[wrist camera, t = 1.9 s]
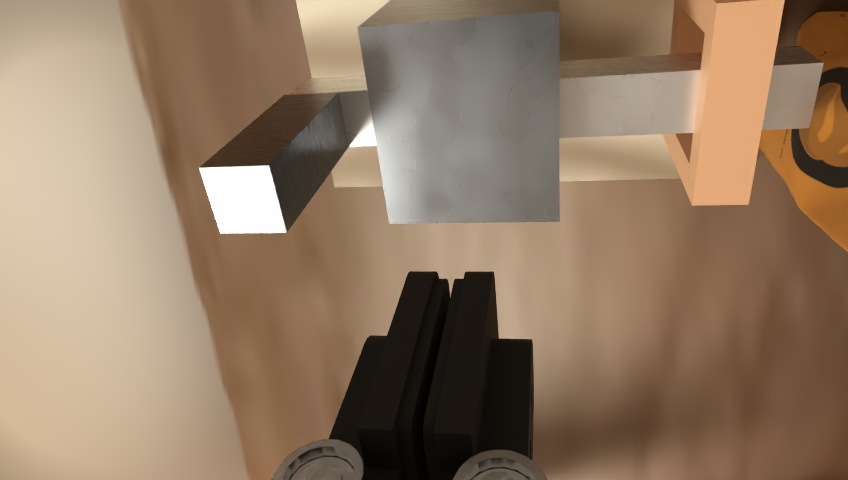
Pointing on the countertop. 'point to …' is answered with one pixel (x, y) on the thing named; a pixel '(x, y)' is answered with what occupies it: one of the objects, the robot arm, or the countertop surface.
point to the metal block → (465, 109)
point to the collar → (724, 94)
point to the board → (578, 40)
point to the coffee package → (819, 132)
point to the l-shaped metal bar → (578, 117)
